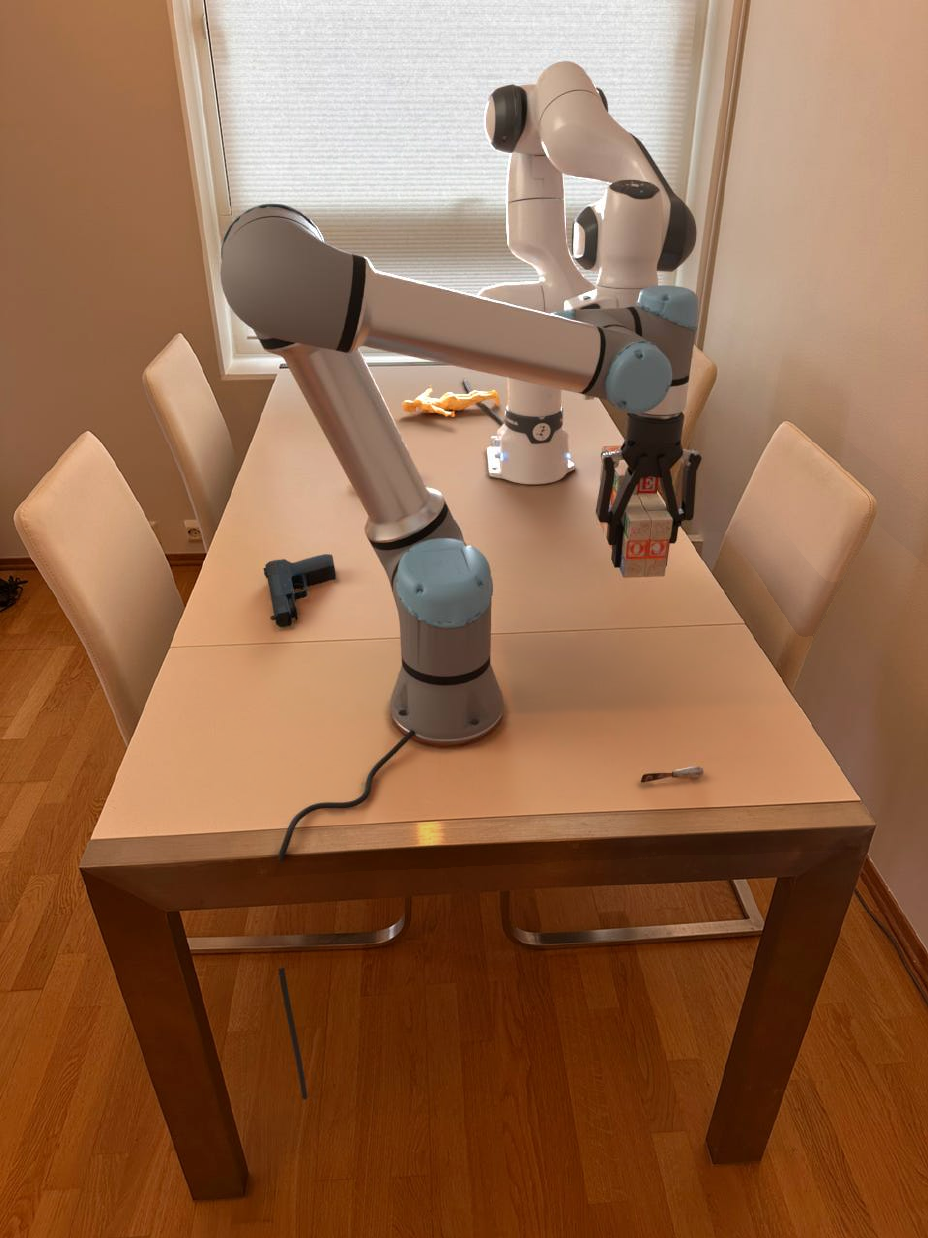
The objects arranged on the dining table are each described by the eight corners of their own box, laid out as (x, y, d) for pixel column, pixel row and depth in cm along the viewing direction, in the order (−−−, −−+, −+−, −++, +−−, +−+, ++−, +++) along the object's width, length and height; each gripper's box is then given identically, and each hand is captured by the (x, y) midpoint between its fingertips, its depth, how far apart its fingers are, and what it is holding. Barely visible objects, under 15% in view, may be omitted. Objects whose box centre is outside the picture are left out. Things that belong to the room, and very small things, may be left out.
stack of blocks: (666, 578, 128) (675, 499, 122) (622, 579, 128) (630, 500, 121) (634, 514, 146) (641, 443, 140) (596, 516, 146) (602, 444, 140)
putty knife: (703, 777, 109) (705, 767, 109) (642, 788, 108) (644, 777, 107) (700, 772, 110) (702, 762, 109) (639, 782, 109) (640, 771, 108)
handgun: (348, 619, 141) (272, 630, 139) (332, 566, 156) (262, 576, 153) (347, 602, 140) (269, 613, 137) (331, 550, 154) (260, 559, 151)
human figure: (395, 413, 223) (394, 398, 221) (438, 390, 237) (438, 375, 235) (462, 429, 215) (462, 413, 213) (502, 404, 229) (503, 388, 227)
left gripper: (719, 399, 122) (696, 549, 135) (580, 402, 122) (569, 552, 134) (735, 418, 116) (710, 573, 128) (589, 420, 115) (577, 576, 128)
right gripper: (690, 298, 134) (679, 390, 141) (554, 301, 133) (550, 393, 140) (701, 307, 128) (690, 402, 135) (560, 310, 127) (556, 405, 134)
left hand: (638, 562), depth 131 cm, fingers closed on stack of blocks, 6 cm apart
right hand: (618, 398), depth 137 cm, fingers open, 8 cm apart
